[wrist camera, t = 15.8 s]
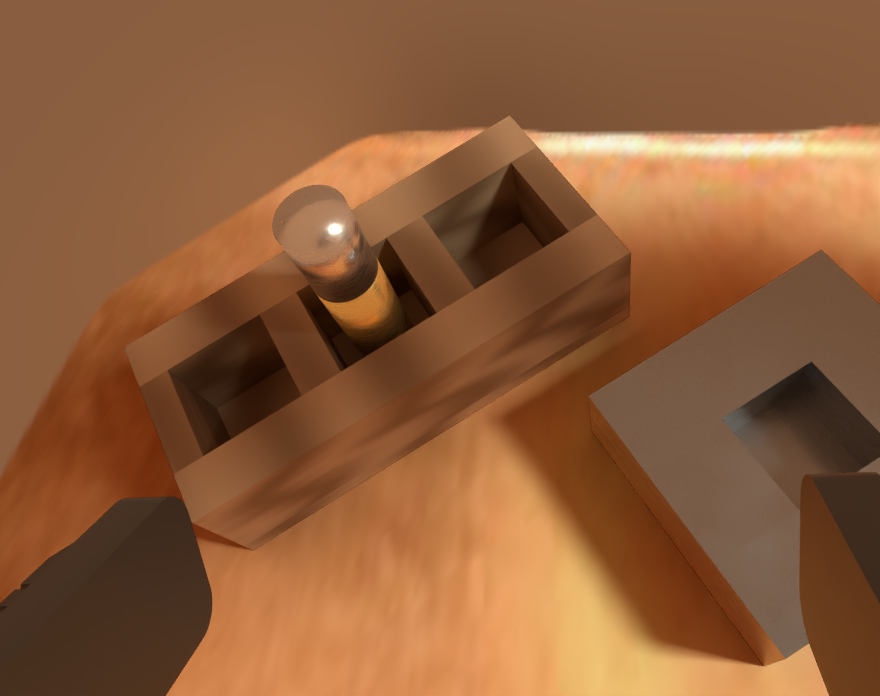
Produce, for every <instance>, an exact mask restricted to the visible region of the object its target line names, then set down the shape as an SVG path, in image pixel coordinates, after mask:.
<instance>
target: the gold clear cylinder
mask: <svg viewBox="0 0 880 696" xmlns="http://www.w3.org/2000/svg"><path fill="white" fill-rule="evenodd" d="M272 227H273V233H274V236H275V238H276V239H277V241H278V242H279V244H280V245H281V246H282V248H283V249H284V251H285V252H286V253H287V255H288V256H289V257H290V259H291V260H292V262H293V263H294V264H295V266H296V267H297V268H298V270H299V271H300V272H301V274H302V275H303V277H304V278H305V279H306V281H307V282H308V283H309V285H310V286H311V288H312V289H313V290H314V292H315V293H316V294H317V296H318V297H319V299H320V300H321V301H322V303H323V304H324V305H325V307H326V308H327V310H328V311H329V312H330V314H331V315H332V316H333V318H334V319H335V321H336V322H337V323H338V325H339V326H340V327H341V329H342V330H343V331H344V333H345V334H346V336H347V337H348V338H349V340H350V341H351V342H352V344H353V345H354V347H355V348H356V349H357V351H358V352H359V353H360V355H361V356H362V358H364V357H366V356H367V355H369V354H371V353H372V352H374V351H376V350H377V349H379V348H381V347H382V346H384V345H385V344H387V343H389V342H390V341H392V340H394V339H395V338H397V337H398V336H400V335H402V334H403V333H405V332H407V331H408V330H410V329H411V328H413V327H414V326H413V324H412V323H411V321H410V319H409V317H408V315H407V313H406V311H405V310H404V308H403V306H402V304H401V302H400V300H399V298H398V296H397V295H396V293H395V291H394V289H393V287H392V285H391V283H390V282H389V280H388V278H387V276H386V274H385V272H384V270H383V269H382V267H381V265H380V263H379V261H378V259H377V257H376V256H375V254H374V252H373V250H372V248H371V246H370V244H369V243H368V241H367V239H366V237H365V235H364V233H363V231H362V230H361V228H360V226H359V224H358V222H357V220H356V218H355V217H354V215H353V213H352V211H351V209H350V207H349V205H348V204H347V202H346V200H345V198H344V196H343V195H342V194H341V193H340V192H339V191H338V190H336V189H334V188H332V187H329V186H325V185H312V186H307V187H304V188H301V189H299V190H297V191H295V192H293V193H292V194H290V195H289V196H288V197H287V198H286V199H285V200H284V201H283V202H282V203H281V204H280V205H279V207H278V208H277V210H276V212H275V215H274V218H273V225H272Z"/></svg>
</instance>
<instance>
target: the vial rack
mask: <svg viewBox="0 0 880 696" xmlns="http://www.w3.org/2000/svg"><path fill="white" fill-rule="evenodd" d="M352 213H353V215H354V217H355V218H356V220H357V222H358V224H359V226H360V228H361V230H362V231H363V233H364V235H365V237H366V239H367V241H368V243H369V244H370V246H371V248H372V250H373V252H374V254H375V256H376V257H377V259H378V261H379V263H380V265H381V267H382V269H383V270H384V272H385V274H386V276H387V278H388V280H389V282H390V283H391V285H392V287H393V289H394V291H395V293H396V295H397V296H398V298H399V300H400V302H401V304H402V306H403V308H404V310H405V311H406V313H407V315H408V317H409V319H410V321H411V323H412V324H413V326H414V327H413V328H411V329H410V330H408V331H407V332H405V333H403V334H402V335H400V336H398V337H397V338H395V339H394V340H392V341H390V342H389V343H387V344H385V345H384V346H382V347H381V348H379V349H377V350H376V351H374V352H372V353H371V354H369V355H367V356H366V357H364V358H362V356H361V355H360V353H359V352H358V351H357V349H356V348H355V347H354V345H353V344H352V342H351V341H350V340H349V338H348V337H347V336H346V334H345V333H344V331H343V330H342V329H341V327H340V326H339V325H338V323H337V322H336V321H335V319H334V318H333V316H332V315H331V314H330V312H329V311H328V310H327V308H326V307H325V305H324V304H323V303H322V301H321V300H320V299H319V297H318V296H317V294H316V293H315V292H314V290H313V289H312V288H311V286H310V285H309V283H308V282H307V281H306V279H305V278H304V277H303V275H302V274H301V272H300V271H299V270H298V268H297V267H296V266H295V264H294V263H293V262H292V260H291V259H290V257H289V256H288V255H287V253H286V252H285V251H284V252H282V253H280V254H279V255H277V256H275V257H274V258H272V259H270V260H269V261H267V262H265V263H264V264H262V265H260V266H259V267H257V268H255V269H254V270H252V271H250V272H249V273H247V274H245V275H244V276H242V277H240V278H239V279H237V280H235V281H234V282H232V283H230V284H229V285H227V286H225V287H224V288H222V289H220V290H219V291H217V292H215V293H214V294H212V295H210V296H209V297H207V298H205V299H204V300H202V301H200V302H199V303H197V304H195V305H194V306H192V307H190V308H189V309H187V310H185V311H184V312H182V313H180V314H179V315H177V316H175V317H174V318H172V319H170V320H169V321H167V322H165V323H164V324H162V325H160V326H159V327H157V328H156V329H154V330H152V331H151V332H149V333H147V334H146V335H144V336H142V337H141V338H139V339H137V340H136V341H134V342H132V343H131V344H129V345H127V346H126V347H124V349H125V352H126V355H127V357H128V360H129V362H130V365H131V367H132V370H133V372H134V375H135V378H136V380H137V383H138V385H139V388H140V390H141V393H142V396H143V398H144V401H145V403H146V406H147V408H148V411H149V413H150V416H151V419H152V421H153V424H154V426H155V429H156V431H157V434H158V436H159V439H160V442H161V444H162V447H163V449H164V452H165V454H166V457H167V459H168V462H169V465H170V467H171V470H172V472H173V475H174V477H175V480H176V482H177V485H178V488H179V490H180V493H181V495H182V498H183V500H184V503H185V505H186V508H187V510H188V513H189V516H190V518H191V521H192V523H193V524H195V525H198V526H200V527H202V528H204V529H207V530H209V531H211V532H213V533H215V534H218V535H220V536H222V537H224V538H226V539H229V540H231V541H233V542H235V543H237V544H240V545H242V546H244V547H246V548H249V549H251V550H255V549H256V548H258V547H259V546H261V545H263V544H264V543H266V542H267V541H269V540H271V539H272V538H274V537H275V536H277V535H279V534H280V533H282V532H283V531H285V530H287V529H288V528H290V527H292V526H293V525H295V524H296V523H298V522H300V521H301V520H303V519H304V518H306V517H308V516H309V515H311V514H312V513H314V512H316V511H317V510H319V509H320V508H322V507H324V506H325V505H327V504H328V503H330V502H332V501H333V500H335V499H336V498H338V497H340V496H341V495H343V494H344V493H346V492H348V491H349V490H351V489H352V488H354V487H356V486H357V485H359V484H360V483H362V482H364V481H365V480H367V479H369V478H370V477H372V476H373V475H375V474H377V473H378V472H380V471H381V470H383V469H385V468H386V467H388V466H389V465H391V464H393V463H394V462H396V461H397V460H399V459H401V458H402V457H404V456H405V455H407V454H409V453H410V452H412V451H413V450H415V449H417V448H418V447H420V446H421V445H423V444H425V443H426V442H428V441H429V440H431V439H433V438H434V437H436V436H437V435H439V434H441V433H442V432H444V431H446V430H447V429H449V428H450V427H452V426H454V425H455V424H457V423H458V422H460V421H462V420H463V419H465V418H466V417H468V416H470V415H471V414H473V413H474V412H476V411H478V410H479V409H481V408H482V407H484V406H486V405H487V404H489V403H490V402H492V401H494V400H495V399H497V398H498V397H500V396H502V395H503V394H505V393H506V392H508V391H510V390H511V389H513V388H514V387H516V386H518V385H519V384H521V383H522V382H524V381H526V380H527V379H529V378H531V377H532V376H534V375H535V374H537V373H539V372H540V371H542V370H543V369H545V368H547V367H548V366H550V365H551V364H553V363H555V362H556V361H558V360H559V359H561V358H563V357H564V356H566V355H567V354H569V353H571V352H572V351H574V350H575V349H577V348H579V347H580V346H582V345H583V344H585V343H587V342H588V341H590V340H591V339H593V338H595V337H596V336H598V335H599V334H601V333H603V332H604V331H606V330H608V329H609V328H611V327H612V326H614V325H616V324H617V323H619V322H620V321H622V320H624V319H625V318H627V317H628V316H629V308H630V262H631V252H630V251H629V250H628V248H627V247H626V246H625V245H624V244H623V243H622V242H621V241H620V239H619V238H618V237H617V236H616V235H615V234H614V233H613V232H612V230H611V229H610V228H609V227H608V226H607V225H606V224H605V223H604V221H603V220H602V219H601V218H600V217H599V216H598V215H597V214H596V212H595V211H594V210H593V209H592V208H591V207H590V206H589V204H588V203H587V202H586V201H585V200H584V199H583V198H582V197H581V195H580V194H579V193H578V192H577V191H576V190H575V189H574V188H573V186H572V185H571V184H570V183H569V182H568V181H567V180H566V179H565V177H564V176H563V175H562V174H561V173H560V172H559V171H558V170H557V168H556V167H555V166H554V165H553V164H552V163H551V162H550V160H549V159H548V158H547V157H546V156H545V155H544V154H543V153H542V151H541V150H540V149H539V148H538V147H537V146H536V145H535V144H534V142H533V141H532V140H531V139H530V138H529V137H528V136H527V135H526V133H525V132H524V131H523V130H522V129H521V128H520V127H519V126H518V124H517V123H516V122H515V121H514V120H513V119H512V118H511V117H510V116H508V117H507V118H505V119H503V120H502V121H500V122H498V123H497V124H495V125H493V126H492V127H490V128H488V129H487V130H485V131H483V132H482V133H480V134H478V135H477V136H475V137H473V138H472V139H470V140H468V141H467V142H465V143H463V144H462V145H460V146H458V147H457V148H455V149H453V150H452V151H450V152H448V153H447V154H445V155H443V156H442V157H440V158H438V159H437V160H435V161H433V162H432V163H430V164H428V165H427V166H425V167H423V168H422V169H420V170H418V171H417V172H415V173H413V174H412V175H410V176H408V177H407V178H405V179H403V180H402V181H400V182H398V183H397V184H395V185H393V186H392V187H390V188H388V189H387V190H385V191H383V192H382V193H380V194H378V195H377V196H375V197H373V198H372V199H370V200H368V201H367V202H365V203H363V204H362V205H360V206H358V207H357V208H355V209H353V210H352Z"/></svg>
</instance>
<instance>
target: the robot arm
mask: <svg viewBox="0 0 880 696" xmlns="http://www.w3.org/2000/svg"><path fill="white" fill-rule="evenodd" d="M799 592H800V604H801V611H802V617H803V622H804V627H805V631H806V635H807V638H808V641H809V644H810V647H811V649H812V652H813V655H814V657H815V660H816V662H817V665H818V668H819V670H820V673H821V675H822V678H823V681H824V683H825V686H826V688H827V691H828V694H829V696H880V475H879V474H878V473H877V472H855V473H828V474H806V475H805V476H804V477H803V479H802V483H801V493H800V563H799ZM211 613H212V593H211V588H210V584H209V581H208V577H207V574H206V571H205V567H204V564H203V560H202V557H201V554H200V550H199V547H198V543H197V540H196V536H195V533H194V530H193V526H192V523H191V519H190V516H189V513H188V510H187V508H186V506H185V504H184V503H183V502H182V501H181V500H180V499H179V498H177V497H148V498H126V499H122V500H120V501H118V502H117V503H115V504H114V505H113V506H112V507H111V508H110V509H109V510H108V511H107V512H106V513H105V514H104V515H103V516H102V517H101V518H99V519H98V520H97V521H96V522H95V523H94V524H93V525H92V526H91V527H90V528H89V529H88V530H87V531H86V532H85V533H84V534H83V535H82V536H81V537H80V538H78V539H77V540H76V541H75V542H74V543H72V544H71V545H69V546H67V547H66V548H64V549H63V550H61V551H59V552H58V553H56V554H54V555H53V556H51V557H50V558H48V559H47V560H46V561H45V562H44V563H43V564H42V565H41V566H40V567H39V568H38V569H37V570H35V571H34V572H33V573H32V574H31V575H30V576H29V577H28V578H27V579H26V580H25V581H24V582H23V583H22V584H21V589H20V590H14V591H13V592H12V593H11V594H10V595H9V596H8V597H7V598H6V599H5V600H3V601H2V602H1V603H0V696H166V694H167V693H168V691H169V690H170V688H171V687H172V685H173V684H174V682H175V681H176V679H177V678H178V676H179V674H180V673H181V671H182V670H183V668H184V667H185V665H186V664H187V662H188V661H189V659H190V658H191V656H192V655H193V653H194V652H195V650H196V649H197V647H198V645H199V644H200V642H201V641H202V639H203V638H204V636H205V634H206V632H207V629H208V626H209V623H210V619H211Z"/></svg>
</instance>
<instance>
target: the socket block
mask: <svg viewBox="0 0 880 696" xmlns="http://www.w3.org/2000/svg"><path fill="white" fill-rule="evenodd" d="M588 397H589V407H590V417H591V427H592V432H593V433H594V435H595V436H596V437H597V439H598V440H599V441H600V443H601V444H602V445H603V447H604V448H605V450H606V451H607V452H608V454H609V455H610V456H611V458H612V459H613V461H614V462H615V463H616V465H617V466H618V467H619V469H620V470H621V471H622V473H623V474H624V476H625V477H626V478H627V480H628V481H629V482H630V484H631V485H632V486H633V488H634V489H635V491H636V492H637V493H638V495H639V496H640V497H641V499H642V500H643V501H644V503H645V504H646V506H647V507H648V508H649V510H650V511H651V512H652V514H653V515H654V517H655V518H656V519H657V521H658V522H659V523H660V525H661V526H662V527H663V529H664V530H665V532H666V533H667V534H668V536H669V537H670V538H671V540H672V541H673V542H674V544H675V545H676V547H677V548H678V549H679V551H680V552H681V553H682V555H683V556H684V558H685V559H686V560H687V562H688V563H689V564H690V566H691V567H692V568H693V570H694V571H695V573H696V574H697V575H698V577H699V578H700V579H701V581H702V582H703V583H704V585H705V586H706V588H707V589H708V590H709V592H710V593H711V594H712V596H713V597H714V598H715V600H716V601H717V603H718V604H719V605H720V607H721V608H722V609H723V611H724V612H725V614H726V615H727V616H728V618H729V619H730V620H731V622H732V623H733V624H734V626H735V627H736V629H737V630H738V631H739V633H740V634H741V635H742V637H743V638H744V639H745V641H746V642H747V644H748V645H749V646H750V648H751V649H752V650H753V652H754V653H755V655H756V656H757V657H758V659H759V660H760V661H761V663H762V664H763V665H764V666H767V665H769V664H772V663H775V662H778V661H781V660H784V659H786V658H788V657H789V656H791V655H792V654H794V653H795V652H797V651H798V650H800V649H801V648H803V647H804V646H806V645H807V644H809V641H808V638H807V635H806V631H805V627H804V622H803V617H802V611H801V604H800V592H799V563H800V493H801V483H802V479H803V477H804V476H805V475H806V474H828V473H855V472H877V473H878V474H879V475H880V304H879V303H877V302H876V301H875V300H874V299H873V298H872V297H871V296H870V295H869V294H868V293H867V292H866V291H865V290H864V289H863V288H862V287H860V286H859V285H858V284H857V283H856V282H855V281H854V280H853V279H852V278H851V277H850V276H849V275H848V274H847V273H846V272H845V271H843V270H842V269H841V268H840V267H839V266H838V265H837V264H836V263H835V262H834V261H833V260H832V259H831V258H830V257H829V256H828V255H826V254H825V253H824V252H823V251H822V250H820V251H819V252H817V253H815V254H814V255H812V256H811V257H809V258H807V259H806V260H804V261H803V262H801V263H799V264H798V265H796V266H795V267H793V268H791V269H790V270H788V271H787V272H785V273H783V274H782V275H780V276H779V277H777V278H776V279H774V280H772V281H771V282H769V283H768V284H766V285H764V286H763V287H761V288H760V289H758V290H756V291H755V292H753V293H752V294H750V295H748V296H747V297H745V298H744V299H742V300H740V301H739V302H737V303H736V304H734V305H733V306H731V307H729V308H728V309H726V310H725V311H723V312H721V313H720V314H718V315H717V316H715V317H713V318H712V319H710V320H709V321H707V322H705V323H704V324H702V325H701V326H699V327H697V328H696V329H694V330H693V331H691V332H690V333H688V334H686V335H685V336H683V337H682V338H680V339H678V340H677V341H675V342H674V343H672V344H670V345H669V346H667V347H666V348H664V349H662V350H661V351H659V352H658V353H656V354H654V355H653V356H651V357H650V358H648V359H647V360H645V361H643V362H642V363H640V364H639V365H637V366H635V367H634V368H632V369H631V370H629V371H627V372H626V373H624V374H623V375H621V376H619V377H618V378H616V379H615V380H613V381H611V382H610V383H608V384H607V385H605V386H604V387H602V388H600V389H599V390H597V391H596V392H594V393H592V394H591V395H589V396H588Z"/></svg>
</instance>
